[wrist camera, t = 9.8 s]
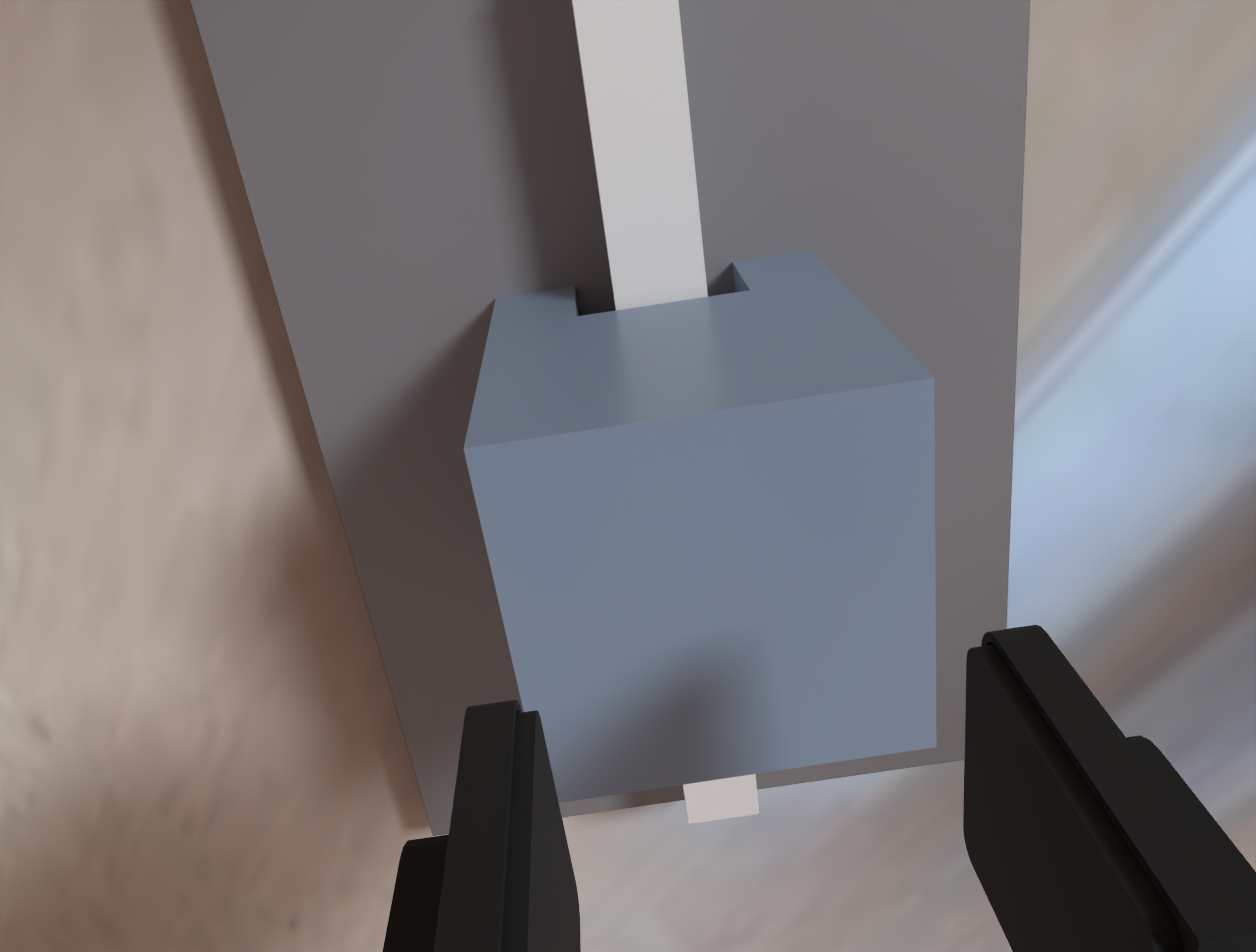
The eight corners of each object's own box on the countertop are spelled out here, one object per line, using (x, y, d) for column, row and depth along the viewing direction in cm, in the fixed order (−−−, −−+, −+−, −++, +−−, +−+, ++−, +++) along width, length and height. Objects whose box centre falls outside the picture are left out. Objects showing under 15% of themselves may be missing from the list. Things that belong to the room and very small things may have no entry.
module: (493, 298, 19) (460, 449, 13) (813, 249, 19) (938, 377, 13) (547, 569, 22) (541, 805, 15) (829, 527, 22) (939, 746, 15)
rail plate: (184, -90, 17) (118, -104, 14) (1013, -212, 17) (1092, -248, 14) (437, 806, 26) (424, 895, 23) (986, 727, 26) (1032, 807, 23)
